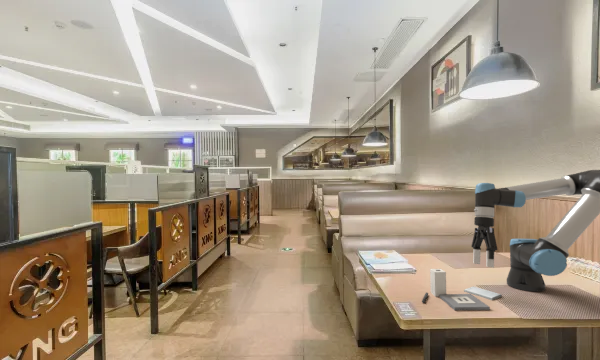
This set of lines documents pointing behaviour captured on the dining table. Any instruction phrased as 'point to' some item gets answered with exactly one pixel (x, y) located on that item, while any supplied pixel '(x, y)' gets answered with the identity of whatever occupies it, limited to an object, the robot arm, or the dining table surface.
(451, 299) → the plate
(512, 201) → the robot arm
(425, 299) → the dark grey rod
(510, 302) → the dining table surface
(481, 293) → the hard drive
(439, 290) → the charger brick
